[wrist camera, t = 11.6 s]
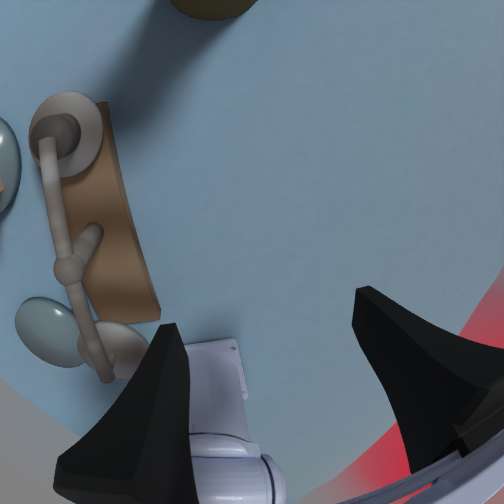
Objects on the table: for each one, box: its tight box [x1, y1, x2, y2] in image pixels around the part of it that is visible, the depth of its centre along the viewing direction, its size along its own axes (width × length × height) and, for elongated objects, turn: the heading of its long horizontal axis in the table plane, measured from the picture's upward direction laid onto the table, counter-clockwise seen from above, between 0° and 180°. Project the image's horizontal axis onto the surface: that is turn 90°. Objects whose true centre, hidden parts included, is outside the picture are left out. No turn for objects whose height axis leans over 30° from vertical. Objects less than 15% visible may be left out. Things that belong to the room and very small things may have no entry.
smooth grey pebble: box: [15, 297, 85, 368], centre depth 22 cm, size 8×8×1 cm
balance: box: [29, 92, 161, 383], centre depth 15 cm, size 19×5×8 cm, turn 6°
